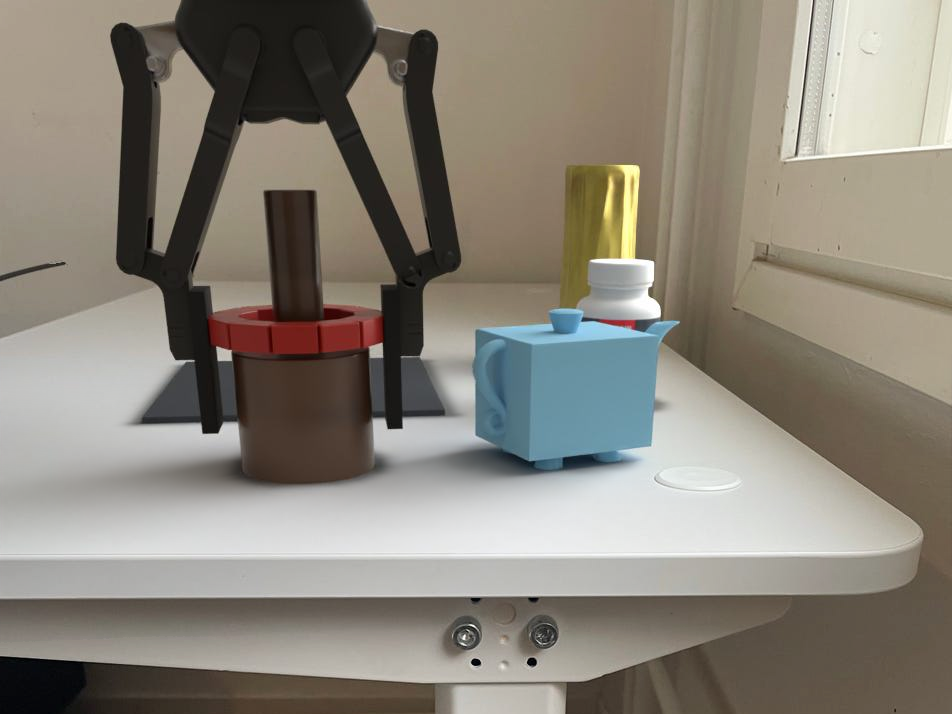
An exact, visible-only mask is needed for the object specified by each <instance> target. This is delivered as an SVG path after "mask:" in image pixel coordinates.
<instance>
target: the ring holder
mask: <svg viewBox="0 0 952 714" xmlns="http://www.w3.org/2000/svg"><path fill="white" fill-rule="evenodd" d="M262 195H263V207H264V208H263V209H264V220H265V232H266V245H267V246H266V247H267V257H268V258H267V259H268V270H269V282H270V295H271V305H272V309H273V321H274V322H314V321H324V305H323V304H324V292H323V291H324V289H323V274H322V257H321V242H320V241H321V240H320V239H321V238H320V225H319V208H318V207H319V206H318V192H317V190H316V189H300V188H299V189H296V188H295V189H294V188H293V189H290V188H289V189H264V190H263V191H262ZM230 353H231V354H230V355H231V361H232V367H233V378H234V388H235V398H236V408H237V418H238V421H237V427H238V438H239V447H240V448H239V449H240V456H241V457H240V458H241V459H240V460H241V467H242V472H243V474H245V476H247V477H249V478H252V479H254V480H258V481H262V482H267V483H274V484H284V485H285V484H287V485H310V484H326V483H333V482H340V481H344V480H349V479H354V478H357V477H360V476H363V475H365V474H368V473H369V472H371V471H372V470H373V469H374V468H375V465H376V464H375V463H376V462H375V439H374V418H373V413H372V390H371V366H370V358H371V349H370V347H366V348H359V349H354V350H345V351H335V352H326V353H323V352H318V353H305V354H274V353H270V354H264V353H252V352H239V351H232V350H230Z"/></svg>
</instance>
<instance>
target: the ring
mask: <svg viewBox="0 0 952 714" xmlns="http://www.w3.org/2000/svg"><path fill="white" fill-rule="evenodd" d="M323 305H324V321H314V322H274V321H273V309H272V304H263V305H249V306H248V305H247V306H241V307H232V308H228V309H223V310H217V311H213V313H212V314H211V315H210V316H209V317H208V328H209V338H210V344H211V345H213V346H216V348H220V349H223V350H226V351H239V352H252V353H264V354H270V353H274V354H305V353H318V352H323V353H326V352H335V351H345V350H354V349H359V348H366V347H369V348H370V347H373V346H376V345H380V344H383V342H384V318H383V313H382V311H381V310H380V309H375V308H371V307H365V306H360V305H359V306H357V305H348V304H332V303H331V304H330V303H323Z"/></svg>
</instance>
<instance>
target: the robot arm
mask: <svg viewBox="0 0 952 714" xmlns="http://www.w3.org/2000/svg"><path fill="white" fill-rule="evenodd" d="M109 38H110V45H111V48H112V52H113V56H114V59H115V62H116V66H117V70H118V73H119V77H120V80H121V84H122V87H123V89H122V108H121V109H122V110H121V131H120V132H121V133H120V152H119V153H120V155H119V157H120V158H119V175H118V176H119V179H118V181H119V182H118V201H117V202H118V203H117V225H116V247H115V248H116V249H115V261H116V265H117V267H118V269H119V271H121V272H122V273H123V274H126V275H129V276H135V277H139V278H141V279H144V280H147V281H149V282H152V283H154V284H155V285H156V286H157V287H158V288H159V289H160V291H161V293H162V297H163V304H164V305H163V306H164V314H165V322H166V328H167V329H166V330H167V336H168V346H169V351H170V352H171V356H172V357H173V359H174V360H175V361H193V362H195V371H196V380H197V389H198V398H199V407H200V416H201V422H200V424H201V433H202V435H215V434H217V435H218V434H220V431H221V429H222V426H223V424H224V418H223V408H222V398H221V388H220V378H219V368H218V361H219V360H218V347H217V346H213V345H211V344H210V338H209V328H208V317H209V316H210V315H211V314H212V313H214V311H213V309H214V308H213V301H212V300H213V299H212V291H211V285H194V277H195V270H196V268H197V265H198V262H199V259H200V255H201V253H202V252H201V251H202V249H203V246H204V243H205V240H206V237H207V235H208V231H209V227H210V225H211V221H212V218H213V216H214V213H215V209H216V206H217V203H218V200H219V197H220V194H221V191H222V188H223V185H224V182H225V179H226V176H227V173H228V170H229V167H230V164H231V161H232V158H233V155H234V151H235V149H236V145H237V144H238V141H239V139H240V136H241V133H242V131H243V127H244V124H245V122H247V123H248V124H250V125H259V124H260V125H269V124H271V123H275V122H278V121H282V120H287V121H290V122H294V123H297V124H299V125H300V124H301V125H320V124H321V123H324V122H325V123H326V125H327V127H328V129H329V133H331V136H332V139H333V141H334V142H335V143H334V144H335V145H336V147H337V150H338V151H339V153H340V156H341V158H342V160H343V163H344V165H345V167H346V169H347V171H348V173H349V175H350V178H351V180H352V182H353V185H354V186H355V189H356V191H357V193H358V195H359V199H361V202H362V204H363V206H364V209H365V211H366V213H367V215H368V217H369V220H370V222H371V224H372V226H373V229H374V230H375V233H376V236H377V237H378V239H379V242H380V244H381V246H382V248H383V250H384V252H385V255H386V257H387V259H388V261H389V264H390V266H391V269H392V270H393V273H394V274H395V275H394V277H395V283H387V284H386V283H382V284H381V283H380V306H381V307H380V309H381V310H380V311H382V313H383V318H384V342H383V343H382V358H383V372H384V401H385V417H384V419H385V423H386V429H387V430H404V421H403V418H404V417H403V415H402V379H401V357H421V354H422V352H423V349H424V346H425V344H424V343H425V342H424V341H425V340H424V339H425V337H424V334H425V333H424V290H425V287H426V286H427V284H428V283H429V282H430V281H431V280H433V279H436V278H438V277H440V276H444V275H446V274H448V273H449V274H451V273H453V272H456V271H457V270H458V269H459V268H460V266H461V264H462V253H461V252H462V251H461V247H460V241H459V236H458V231H457V225H456V218H455V213H454V208H453V202H452V196H451V189H450V184H449V180H448V174H447V167H446V162H445V156H444V149H443V144H442V137H441V133H440V128H439V122H438V121H439V120H438V116H437V109H436V105H435V100H434V99H435V98H434V92H433V91H434V82H435V77H436V76H435V75H436V69H437V61H438V52H439V41H438V38H437V36H436V34H434V33H433V32H432V30H429V29H426V28H423V29H419V30H417V31H415V32H410V31H405V30H401V29H396V28H391V27H387V26H382V25H378V24H377V21H376V19H375V17H374V15H373V13H372V11H371V9H370V7H369V4H368V1H367V0H180V2H179V6H178V8H177V10H176V13H175V16H174V20H171V21H165V22H157V23H153V24H146V25H141V26H140V25H139V26H133V25H131V24H130V23H128V22H119V23H116V24H114V25H113V27H112V28H111V31H110V34H109ZM180 51H184V52H185V54H186V56H188V58H189V59H190V61H191V62H192V63H193V64H194V66H195V67H196V69H197V70H198V71H199V73H200V74H201V75H202V77H203V78H204V79H205V81H206V82H207V83H208V85H209V86H210V87H211V89H212V90H213V96H212V99H211V102H210V105H209V107H208V108H209V109H208V110H207V111H208V112H207V115H206V118H205V121H204V125H203V131H202V136H201V139H200V141H199V145H198V148H197V150H196V154H195V156H194V160H193V164H192V167H191V170H190V173H189V175H188V179H187V182H186V185H185V188H184V191H183V192H184V193H183V196H182V199H181V201H180V205H179V208H178V210H177V215H176V218H175V220H174V224H173V227H172V231H171V233H170V236H169V240H168V243H167V245H166V249H165V252H163V251H160V250H158V249H157V250H156V249H154V241H155V240H154V239H155V219H156V203H157V188H158V187H157V186H158V169H159V168H158V167H159V153H160V151H159V150H160V134H161V116H162V115H161V114H162V94H161V83H162V84H163V83H165V82H167V81H168V80H169V79H170V78H171V76H172V73H173V60H174V57H175V55H176V54H177V53H179V52H180ZM373 54H375V55H378V56H379V57H380V58H381V59H382V60H383V61H384V64H385V66H386V67H385V68H386V74H387V78H388V80H389V81H390V83H392V84H393V85H394V86H396V87H400V88H401V89H402V93H401V94H402V106H403V113H404V118H405V119H404V120H405V124H406V128H407V134H408V139H409V140H408V141H409V145H410V150H411V155H412V156H411V157H412V161H413V167H414V172H415V178H416V183H417V187H418V192H419V193H418V194H419V199H420V205H421V210H422V216H423V219H424V225H425V231H426V236H427V242H428V248H425V249H423V250H420V251H418V252H415V250H414V247H413V245H412V242H411V240H410V238H409V236H408V233H407V231H406V229H405V227H404V225H403V222H402V220H401V217H400V216H399V214H398V211H397V209H396V207H395V204H394V201H393V200H392V197H391V196H390V192H389V191H388V188H387V186H386V185H385V181H384V179H383V177H382V175H381V173H380V171H379V168H378V166H377V164H376V161H375V159H374V157H373V155H372V152H371V150H370V148H369V145H368V144H367V143H368V142H367V141H366V138H365V137H364V134H363V132H362V129H361V127H360V126H361V125H360V124H359V122H358V119H357V117H356V115H355V113H354V110H353V108H352V106H351V104H350V101H349V99H348V97H347V96H348V95H349V93H350V91H351V90H352V88H353V86H354V85H355V83H356V81H357V80H358V78H359V76H360V75H361V73H362V72H363V70H364V68H365V67H366V65H367V63H368V61H369V60H370V58H371V57H372V56H373ZM49 263H50V262H47V263H43V264H39V265H34V266H29V267H27V268H26V267H25V268H22V269H18V270H14V271H11V272H8V273H7V272H6V273H4V274H0V282H4V281H7V280H10V279H12V278H16V277H20V276H23V275H28V274H30V273H34V272H38V271H43V270H47V269H51V268H57V267H61V266H66V265H67V264H66V263H65V262H61V263H56V264H49ZM65 264H66V265H65Z"/></svg>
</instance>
